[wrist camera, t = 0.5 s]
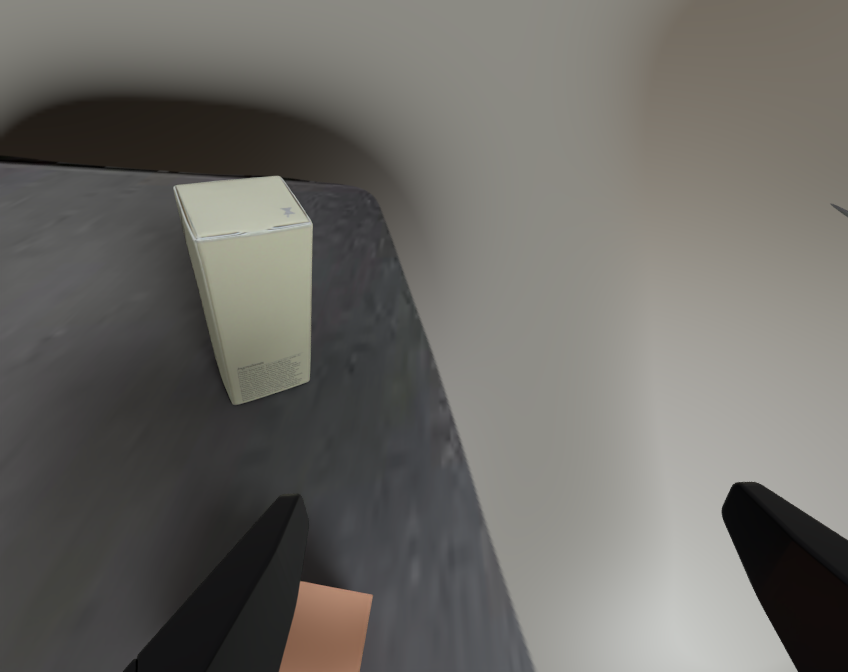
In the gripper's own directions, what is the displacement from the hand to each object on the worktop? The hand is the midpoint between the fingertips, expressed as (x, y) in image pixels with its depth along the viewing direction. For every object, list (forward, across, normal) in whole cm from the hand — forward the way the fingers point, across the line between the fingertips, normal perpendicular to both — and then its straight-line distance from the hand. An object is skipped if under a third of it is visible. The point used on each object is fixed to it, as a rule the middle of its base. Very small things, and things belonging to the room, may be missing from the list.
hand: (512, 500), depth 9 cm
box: (+17, +13, +8) cm, 23 cm away
